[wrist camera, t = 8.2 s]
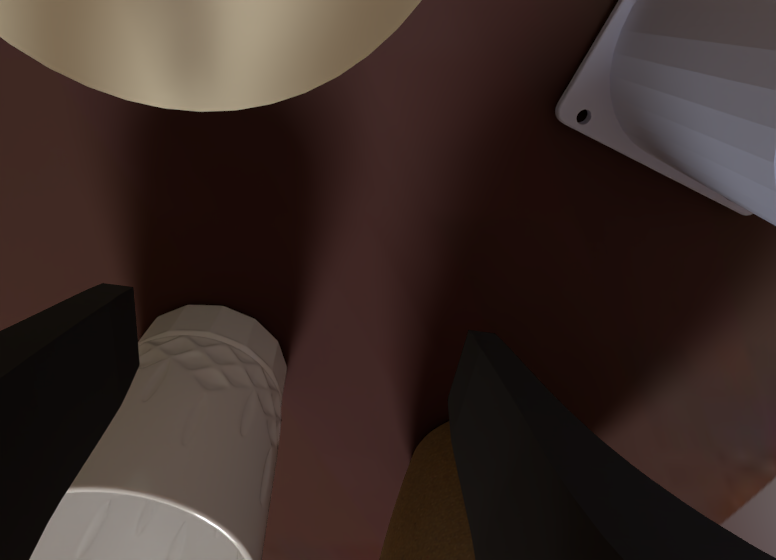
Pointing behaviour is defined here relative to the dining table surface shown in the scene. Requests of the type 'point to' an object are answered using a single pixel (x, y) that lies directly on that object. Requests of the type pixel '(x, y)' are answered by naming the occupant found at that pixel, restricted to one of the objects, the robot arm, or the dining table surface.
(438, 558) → the plant pot
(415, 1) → the lid
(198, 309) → the white cup
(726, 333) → the dining table surface
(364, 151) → the dining table surface
